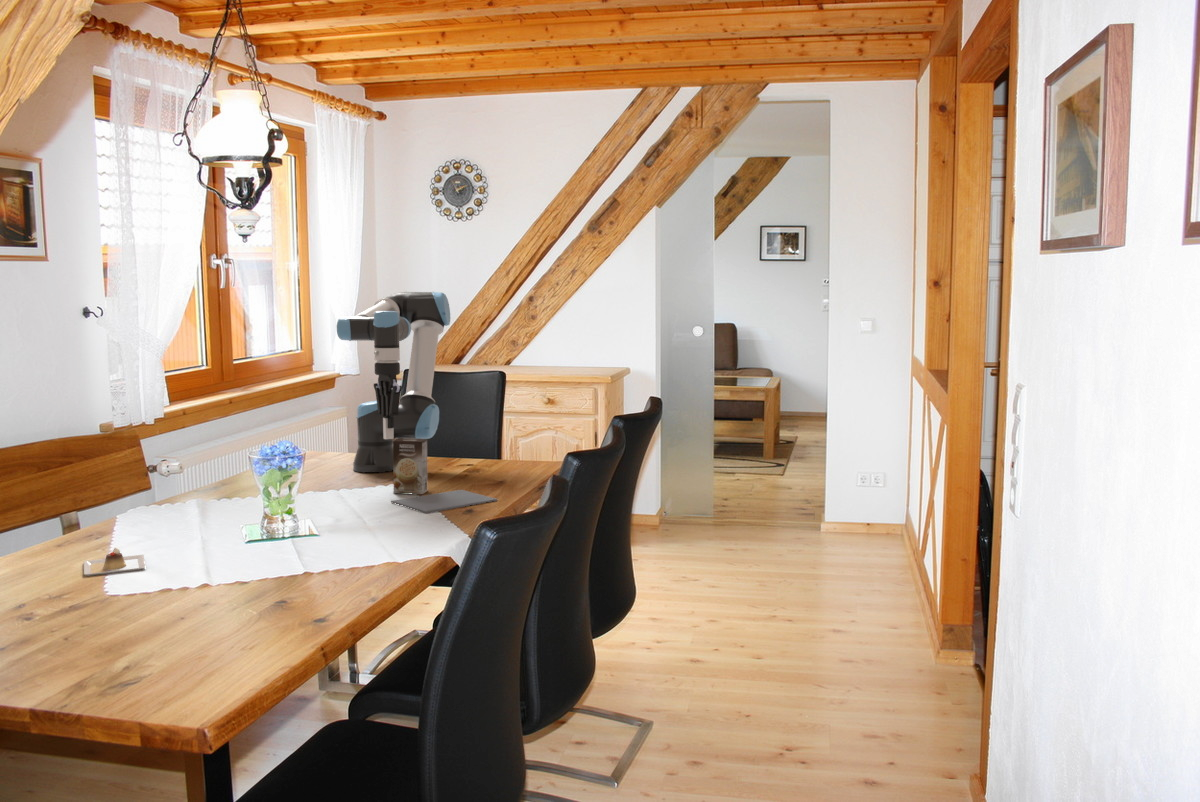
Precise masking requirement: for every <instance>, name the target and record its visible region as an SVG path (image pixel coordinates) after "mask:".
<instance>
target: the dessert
mask: <svg viewBox="0 0 1200 802" xmlns="http://www.w3.org/2000/svg"><path fill="white" fill-rule="evenodd" d="M144 555H145V554H137V555H136V554H134V555H127V556H125V555H124V556H123V554H122V553H121V550H120V549H119V548H117V547H114V549H113V550H112V552H110V553H108V554H106V556H105V558H100V559H91V560H90V559H89V560H84V561H83V575H85V576H87V577H92V576H98V575H99V576H101V575H108V574H117V573H125V572H135V571H142V570H144V569H146V568H147V565H146V560H145V556H144ZM129 560H130V561H132V560H137V563H138V567H135V568H127V569H123V568H125V567H126V566H127V564H126V561H129ZM94 564H104V565H103V567H102V569H103V570H108V571H102V572H101V571H100V572H92V570H91V569H92V568H91V566H92V565H94Z"/></svg>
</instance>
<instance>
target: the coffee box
mask: <svg viewBox="0 0 1200 802" xmlns="http://www.w3.org/2000/svg"><path fill="white" fill-rule="evenodd" d="M392 472H393V473H392V474H393V493H412V494H422V495H425V493H426V492H428V439H416V438H398V439H393V471H392ZM412 494H411V495H412Z"/></svg>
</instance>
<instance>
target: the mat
mask: <svg viewBox="0 0 1200 802" xmlns="http://www.w3.org/2000/svg"><path fill="white" fill-rule="evenodd" d="M492 501H494V502H498V498H495V497H491V496H487V495H483V494H480V493H475V492H472V491H468V490H464V489H458V490H457V489H455V490H452V491H444V492H439V493H431V494H426V495H425V494H424V495H420V496H419V495H418V496H411V497H408V498H407V497H406V498H400V499H396V500H395V499H394V500H391V501H390V502H393V503H396V504H399V505H398V506H400V505H403V506H406V507H409V508H408V509H410V508H412V509H411V510H413V509H415V510H414V511H416V510H418V511H417V512H419V511H420V512H419V513H423V514H430V513H431V512H432V513H437V512H442V511H447V510H449V511H450V510H453V509H454V508H455V509H459V507H460V508H464V507H465V506H466V507H471V506H470V505H472V506H475V505H476V504H477V505H482V504H481V503H483V504H487V503H486V502H489V503H493V502H492ZM393 503H392V504H393ZM396 504H395V505H396ZM477 505H476V506H477ZM403 506H402V507H403ZM406 507H405V508H406ZM466 507H465V508H466ZM432 513H431V514H432Z"/></svg>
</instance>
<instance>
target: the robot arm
mask: <svg viewBox="0 0 1200 802" xmlns="http://www.w3.org/2000/svg"><path fill="white" fill-rule="evenodd" d="M450 324H451V308H450V304H449V299H448V297H447V296H446V294H445V292H438V291H436V292H435V291H401V292H397V293H393V294H389V295H386V296H383V297H382V298H380V299H378V300H377V301H375V302H374V304H373V306H372V307H369V308H367V309H366V310H364V311H362V312H360V313H357V314H356V315H354V316H349V315H346V316H340V317H339V318H338V319H337V323H336V334H337V337H338V338H339V339H340V340H341V341H349V342H351V341H352V342H353V341H354V342H355V341H358V342H359V341H371V342H373V341H374V342H373V343H374V345H373V346H374V352H373V354H374V360H375V363H374V374H375V375H376V376H378V378H377V382H376V383H373V389H374V391H375V398H376V400H371V401H366V402H363V403H360V404H359V405H358V406H357V411H356V412H357V417H356V420H357V421H356V423H357V448H356V449H357V450H356V453H355V456H354V459H353V464H352V470H353V471H354V472H356V473H357V472H358V473H365V472H379V473H386V472H385V471H389V472H393V471H392V470H393V441H394V440H396V439H398V438H416V439H427V440H428V439H431V438H433V437H434V435H435V434H436V432H437V430H438V426H439V422H440V408H439V406H438V405H437V404H436V401H435V399H434V398H433V397H432V393H433V385H434V377H435V367H436V359H437V352H438V342H439V336H440V335H441V334H443V332H444V331H445V330H444V329H445V327H447V326H449V325H450ZM412 332H413V336H412V344H411V351H410V357H409V367H408V368H409V369H408V375H407V382H406V383H407V384H406V391H405V394H404V395H401V393H402V389H403V386H402V385H399V384H398V378H397V375H400V374H401V365H400V364H401V363H400V362H399V361H400V360H401V357H400V355H401V354H400V352H401V351H400V342H402V341H404V340H405V339H407V338H409V336H410V335H411V333H412Z"/></svg>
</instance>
